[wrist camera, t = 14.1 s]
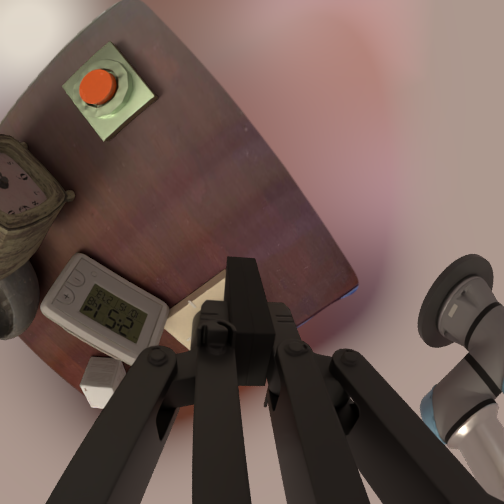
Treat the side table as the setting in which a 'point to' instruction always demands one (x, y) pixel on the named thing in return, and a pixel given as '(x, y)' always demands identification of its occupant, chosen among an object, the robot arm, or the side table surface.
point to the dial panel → (193, 308)
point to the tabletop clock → (25, 204)
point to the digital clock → (105, 309)
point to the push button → (97, 87)
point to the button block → (124, 99)
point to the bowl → (18, 301)
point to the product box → (101, 380)
